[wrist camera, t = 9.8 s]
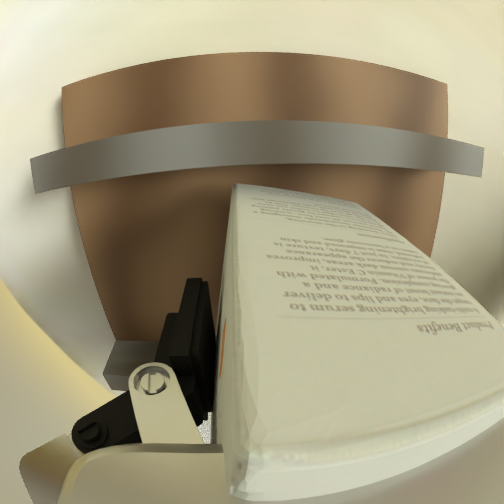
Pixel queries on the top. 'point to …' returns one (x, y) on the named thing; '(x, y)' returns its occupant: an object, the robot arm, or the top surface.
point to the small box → (341, 350)
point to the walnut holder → (235, 166)
